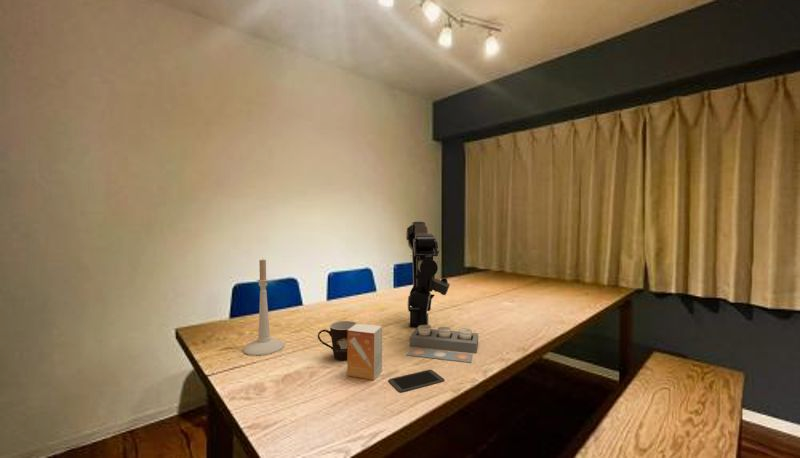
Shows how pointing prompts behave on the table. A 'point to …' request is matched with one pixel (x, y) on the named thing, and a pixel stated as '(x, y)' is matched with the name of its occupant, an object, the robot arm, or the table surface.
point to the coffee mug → (339, 338)
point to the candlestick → (263, 323)
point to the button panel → (444, 341)
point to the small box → (364, 351)
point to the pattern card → (440, 355)
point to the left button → (424, 330)
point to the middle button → (444, 332)
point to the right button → (465, 334)
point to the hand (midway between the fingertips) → (424, 316)
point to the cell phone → (415, 380)
